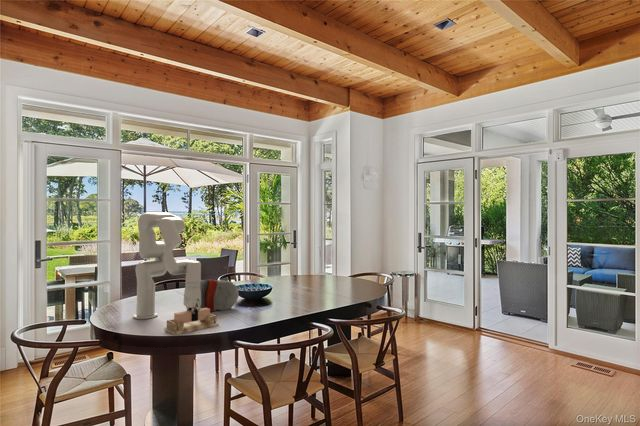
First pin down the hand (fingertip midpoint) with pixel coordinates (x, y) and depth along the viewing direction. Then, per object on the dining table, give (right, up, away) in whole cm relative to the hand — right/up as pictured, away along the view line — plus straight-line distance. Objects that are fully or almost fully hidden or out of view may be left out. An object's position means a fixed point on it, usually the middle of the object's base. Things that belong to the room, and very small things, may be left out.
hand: (192, 319), depth 204 cm
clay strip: (0, 0, 0) cm, 0 cm away
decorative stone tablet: (+2, -5, +37) cm, 37 cm away
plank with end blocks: (0, -4, 0) cm, 4 cm away
